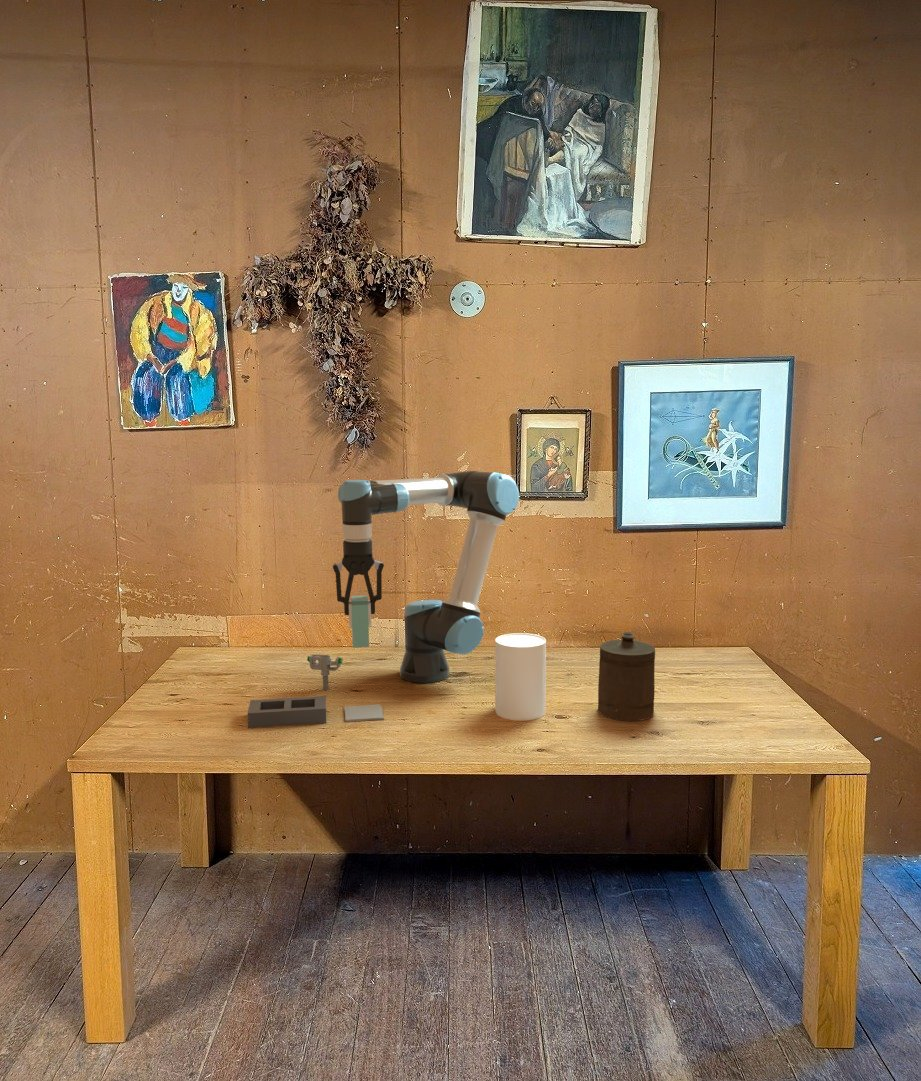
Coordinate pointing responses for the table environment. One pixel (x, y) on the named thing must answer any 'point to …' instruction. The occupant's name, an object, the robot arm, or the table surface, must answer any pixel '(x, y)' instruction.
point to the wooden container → (626, 679)
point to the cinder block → (287, 711)
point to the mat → (363, 713)
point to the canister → (520, 676)
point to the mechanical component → (324, 666)
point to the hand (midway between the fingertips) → (360, 626)
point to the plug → (360, 621)
